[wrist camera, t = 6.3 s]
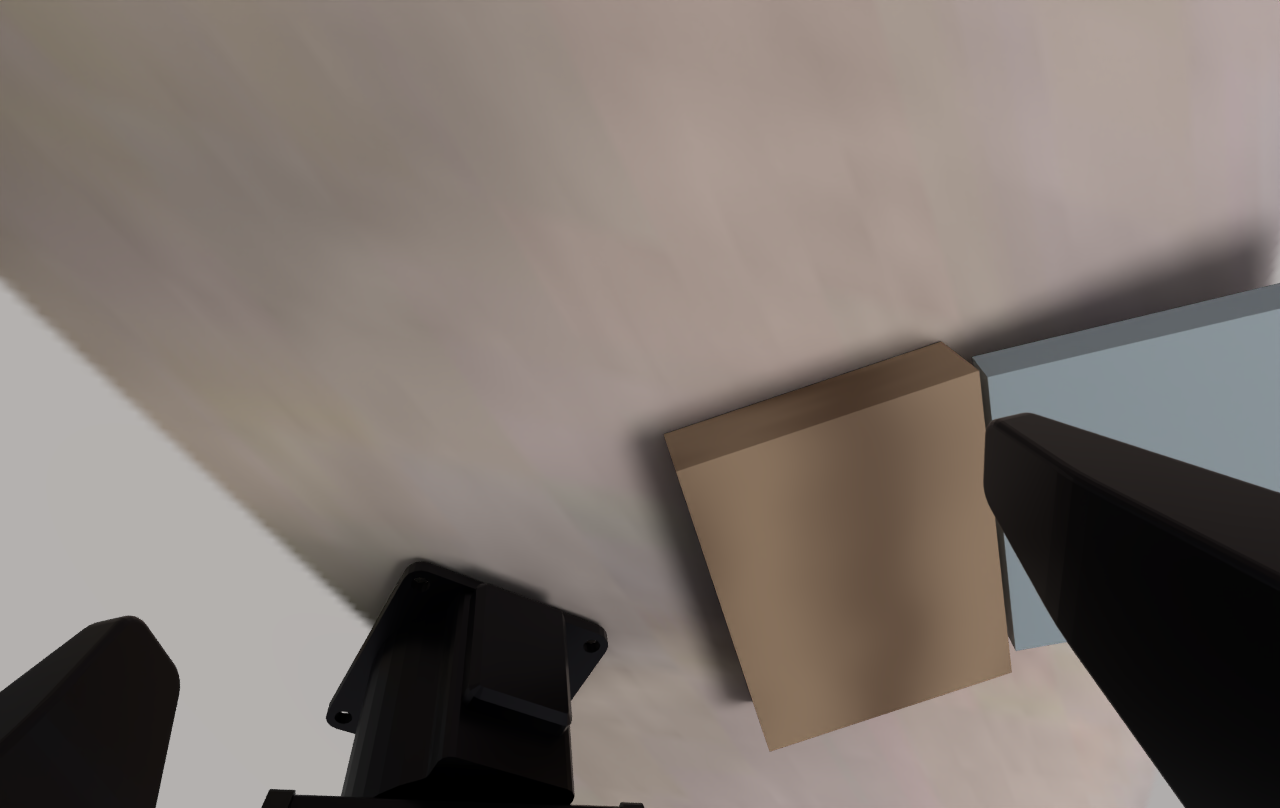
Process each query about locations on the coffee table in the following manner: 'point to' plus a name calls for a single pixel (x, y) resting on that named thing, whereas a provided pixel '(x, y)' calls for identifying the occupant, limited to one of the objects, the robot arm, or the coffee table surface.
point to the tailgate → (1148, 403)
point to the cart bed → (852, 541)
